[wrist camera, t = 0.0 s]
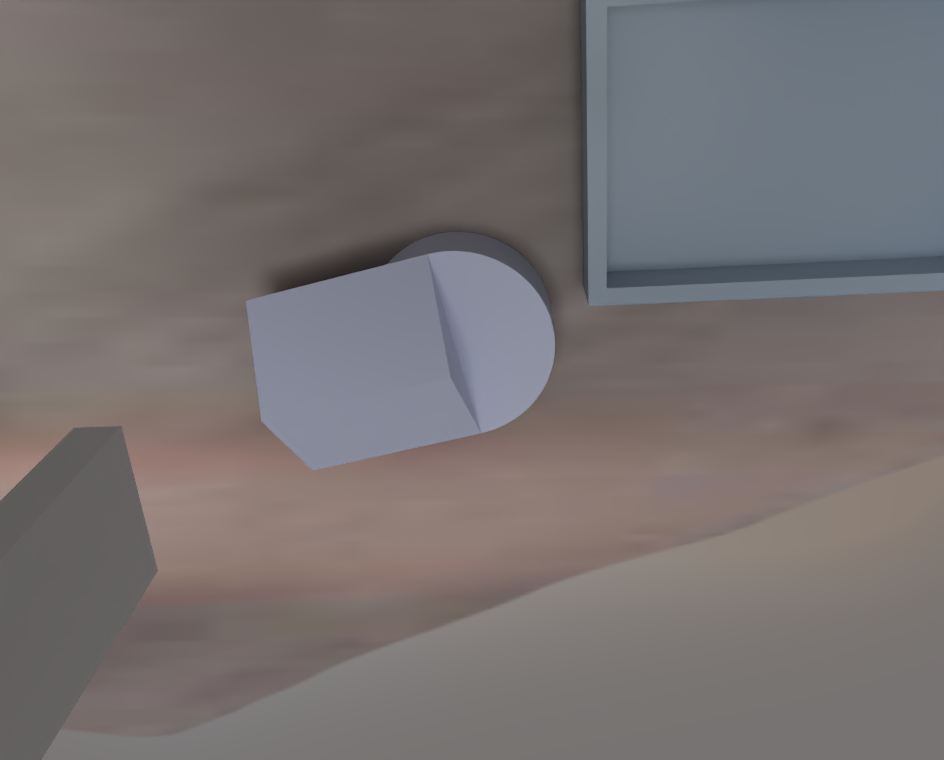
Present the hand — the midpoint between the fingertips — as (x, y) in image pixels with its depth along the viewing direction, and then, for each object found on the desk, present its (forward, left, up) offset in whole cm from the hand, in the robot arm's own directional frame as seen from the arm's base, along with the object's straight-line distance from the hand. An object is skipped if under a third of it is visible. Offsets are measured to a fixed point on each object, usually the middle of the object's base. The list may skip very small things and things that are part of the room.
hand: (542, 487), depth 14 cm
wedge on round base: (+8, -5, -28) cm, 30 cm away
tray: (-1, +12, -28) cm, 30 cm away
